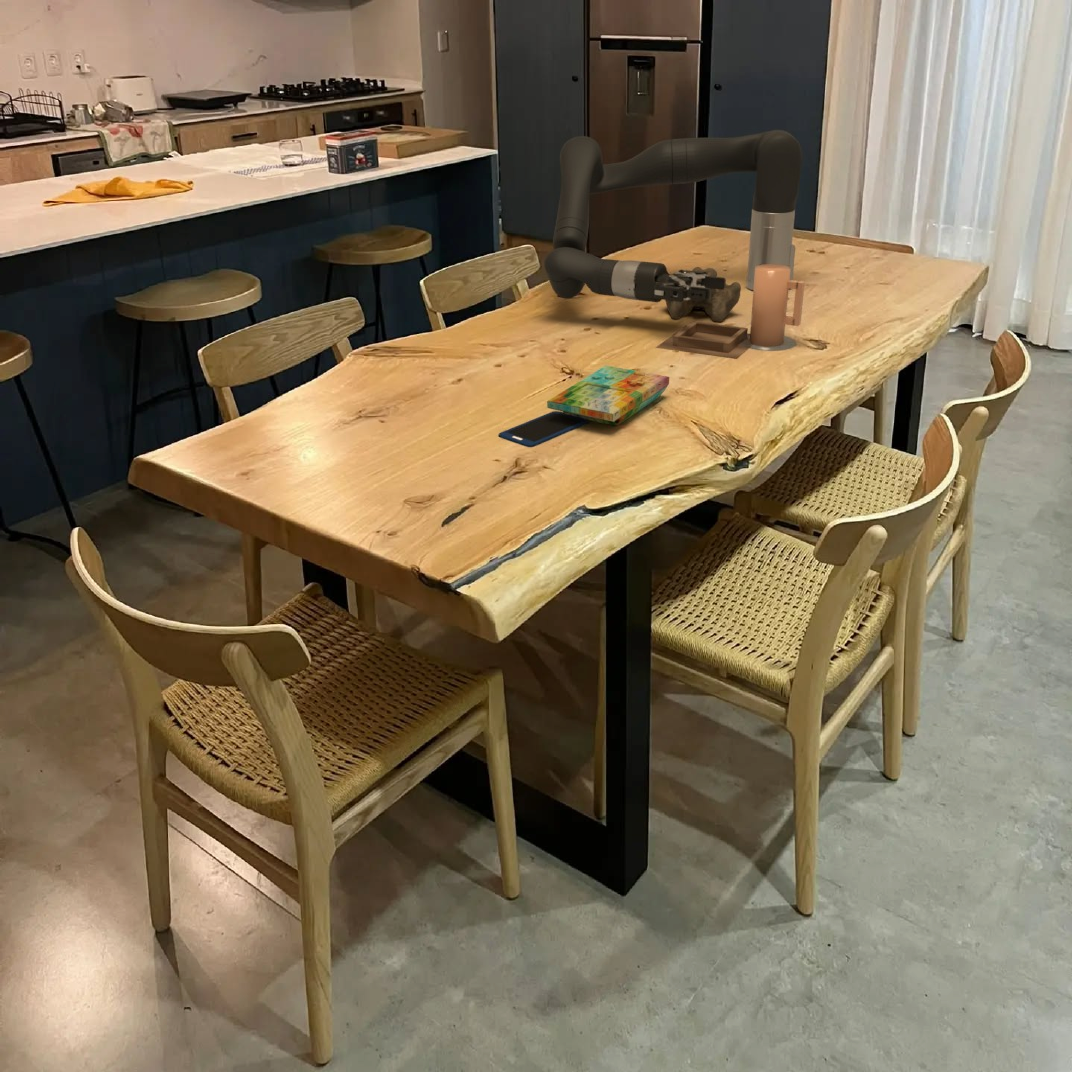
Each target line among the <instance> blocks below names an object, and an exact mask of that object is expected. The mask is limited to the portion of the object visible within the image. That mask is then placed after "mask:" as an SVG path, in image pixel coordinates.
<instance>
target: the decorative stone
mask: <svg viewBox="0 0 1072 1072" xmlns="http://www.w3.org/2000/svg"><path fill="white" fill-rule="evenodd" d="M691 271H700V272H708V276H712V277H718V272H717V270H716V269H715V268H712V267H709V268H707V267H706V268H705V269H703V268H702V267H700V266H696V267H693V269H692V270H691ZM696 281H701V278H699V279H697V280H696ZM690 286H691V284H690ZM741 288H742V286H741V284H740V283H739V282H737V281H735V282H732V283H731V284H727V283H726V286H725V288H724V289H723V290H719V289H711V298H710V299H709V300H708V301H706V300H698V299H691V298H690V300H684V301H683V302H677V301H669V300H664V301H665V304H666V308H667V310H668V312H669V314H670V318H671V319H672V320H680V319H681V318H684V317H687V316H689V314H690V313H691V312H692V310H702V309H704V310H703V311H704V312H705V314H706V315H707V316H708V317H709V318H711V321H713V322H716V323H721V322H723V320H724V319H725V318H726V317H727V316H728V315H729V314H730V312H731V311H732V310H733V309H734V307H735V306H736V305H737V304H738V303H739V301H740V297H741V290H742V289H741Z"/></svg>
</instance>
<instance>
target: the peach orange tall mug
mask: <svg viewBox="0 0 1072 1072" xmlns="http://www.w3.org/2000/svg"><path fill="white" fill-rule="evenodd" d="M805 283H806V281H804V280H795V279H792V280H790V268H789V267H787V266H784V265H777V264H765V265H759V266H756V267H755V277H754V290H752V292H753V293H752V307H751V318H750V331H749V332H750V333H749V334H750V343H751V344H753V345H757V346H762V347H775V346H780V345H782V344H783V343H784V336H785V334H786V332H785V331H786V330H785V329H786V326H795V327H799V326H800V325H801V324H802V323H801V321H802V314H803V305H804V304H803V303H804V295H805V285H806V284H805ZM789 289H791V290H795V291H794V292H795V293H794V302H793V311H792V312H793V313H792V316H789V315H787V310H788V300H789V291H790V290H789Z"/></svg>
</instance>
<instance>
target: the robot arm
mask: <svg viewBox="0 0 1072 1072" xmlns="http://www.w3.org/2000/svg"><path fill="white" fill-rule="evenodd" d="M802 161H803V152H802V147H801V144H800V142H799V141H798V140H797V139H796V138H795V137H794V136H793V134H792V133H790V132H789V131H786V130H783V129H774V130H768V131H763V132H759V133H754V134H748V135H747V134H746V135H742V136H735V137H689V138H688V137H685V138H684V137H683V138H674V139H673V138H672V139H665V140H662V141H659V142H657V143H654V144H653V145H651V146H649V147H648V148H646V149H644V150H643V151H641V152H640V153H638V154H637V155H635V156H633V157H632V158H630V159H627V160H624V161H620V162H616V163H615V162H613V163H608V164H607V163H604V164H603V162H604V161H603V154H602V149H601V146H600V145H599V143H598V142H597V141H596V140H595V139H593V137H590V136H587V135H579V136H575V137H572V138H570V139H568V140H567V141H566V142H565V143H564V144H563V146H562V148H561V150H560V154H559V165H560V172H561V173H560V174H561V182H560V183H561V184H560V192H559V193H560V194H559V196H560V197H559V202H558V208H557V209H558V210H557V215H556V220H555V225H554V232H553V238H552V247H553V249H552V250H551V251H550V252H548V253H547V254H546V256H545V258H544V261H543V266H544V270H545V273H546V275H547V278H548V280H549V283H550V285H551V286H550V287H551V288H552V290H553V291H554V293H555V294H556V295H557V296H559V297H560V298H562V299H573V298H575V297H576V296H578V295H579V294H580V293H581V292H582V291H583V289H584V288H585V285H586V287H587V288H588V289H589V290H590V291H591V292H592V293H593V294H596V295H601V296H608V297H609V296H610V297H617V298H621V299H622V298H623V299H625V300H633V301H642V302H649V303H650V302H651V303H660V302H661V301H662V300H664V301H665V300H669V301H677V302H683V301H684V300H690V298H691V299H698V300H706V301H708V300H709V299H710V298H711V289H719V290H723V289H724V288H725V286H726V284H727V279H726V278H725V277H720V276H717V277H712V276H708V272H700V271H692V270H686V269H685V270H684V269H679V270H678V272H677V271H674V272H673V273H669V272H668V269H667V267H666V265H665V264H664V263H662V262H652V261H644V260H643V261H642V260H640V261H639V260H632V259H630V260H628V259H627V260H618V259H609V258H607V259H606V258H601V257H598V256H596V255H594V254H592V253H588V252H586V248H587V247H586V246H587V243H588V242H587V241H588V236H589V235H588V234H589V228H590V227H589V226H590V195H597V194H601V193H607V192H614V191H617V190H618V191H619V190H625V189H633V188H639V187H650V186H662V185H679V184H691V183H698V182H701V181H706V180H711V179H713V178H718V177H720V176H724V175H729V174H734V173H755V174H756V175H755V176H756V177H755V187H754V193H753V198H752V205H751V207H752V208H751V221H750V234H749V244H748V245H749V248H748V260H747V261H748V262H747V274H746V288H747V289H749V290H750V291H753V290H754V277H755V267H756V266H759V265H765V264H777V265H784V266H787V267H789V268H790V280H794V279H793V278H794V277H793V276H794V267H795V256H796V245H795V244H793V237H794V226H795V225H794V224H795V215H796V213H795V212H796V205H797V199H798V197H799V192H800V190H799V189H800V182H801V170H802ZM699 278H701V281H696V280H697V279H699ZM690 284H691V286H690Z"/></svg>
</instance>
